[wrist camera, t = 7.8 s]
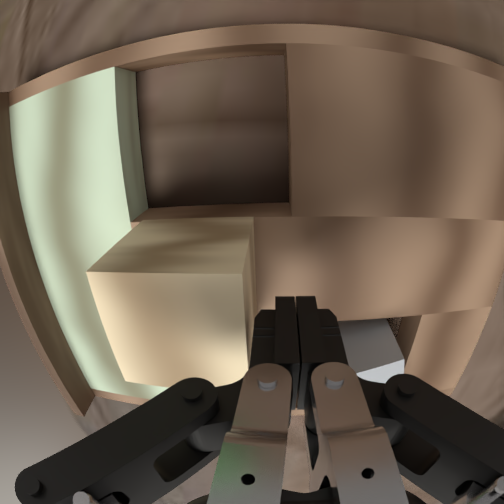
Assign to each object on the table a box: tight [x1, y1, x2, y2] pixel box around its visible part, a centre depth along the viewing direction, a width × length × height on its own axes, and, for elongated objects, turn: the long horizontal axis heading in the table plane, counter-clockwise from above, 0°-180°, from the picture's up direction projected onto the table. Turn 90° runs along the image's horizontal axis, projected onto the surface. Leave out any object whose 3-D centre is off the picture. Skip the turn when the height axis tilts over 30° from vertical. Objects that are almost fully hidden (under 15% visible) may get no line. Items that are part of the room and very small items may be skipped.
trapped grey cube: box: [338, 318, 404, 383], centre depth 18 cm, size 6×6×6 cm
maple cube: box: [86, 217, 257, 387], centre depth 13 cm, size 6×6×6 cm
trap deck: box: [0, 24, 504, 417], centre depth 15 cm, size 31×24×5 cm
